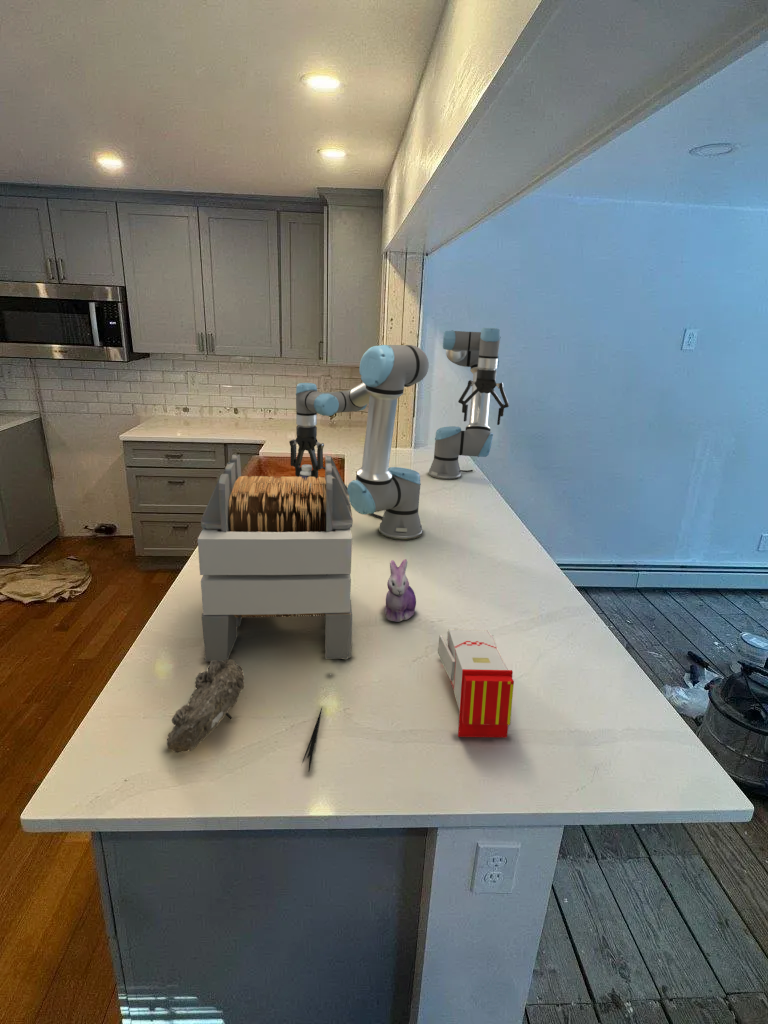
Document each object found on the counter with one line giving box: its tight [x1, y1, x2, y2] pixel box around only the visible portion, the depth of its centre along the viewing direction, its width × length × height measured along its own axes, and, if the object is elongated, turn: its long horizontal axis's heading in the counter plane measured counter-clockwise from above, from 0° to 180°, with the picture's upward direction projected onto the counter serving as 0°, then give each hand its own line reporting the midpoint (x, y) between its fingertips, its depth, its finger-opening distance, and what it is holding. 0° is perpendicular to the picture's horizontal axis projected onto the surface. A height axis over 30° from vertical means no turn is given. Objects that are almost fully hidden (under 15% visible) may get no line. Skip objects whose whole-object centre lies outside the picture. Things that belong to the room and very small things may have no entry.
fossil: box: [166, 658, 245, 754], centre depth 106 cm, size 22×10×15 cm
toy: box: [437, 628, 515, 738], centre depth 117 cm, size 12×13×30 cm
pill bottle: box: [300, 463, 313, 480], centre depth 218 cm, size 5×5×9 cm
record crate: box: [197, 454, 354, 663], centre depth 134 cm, size 34×33×41 cm
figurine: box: [384, 558, 417, 623], centre depth 145 cm, size 9×10×15 cm
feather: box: [301, 673, 332, 771], centre depth 108 cm, size 2×28×2 cm
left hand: (306, 485), depth 219 cm, fingers closed on pill bottle, 5 cm apart
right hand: (481, 422), depth 231 cm, fingers open, 13 cm apart
